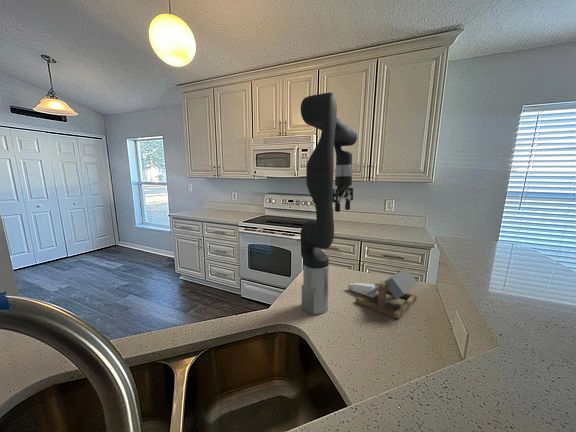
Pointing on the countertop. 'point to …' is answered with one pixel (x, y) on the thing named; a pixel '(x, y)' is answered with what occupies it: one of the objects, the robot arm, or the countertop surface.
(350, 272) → the countertop surface
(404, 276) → the trapdoor
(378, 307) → the wooden frame stand
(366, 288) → the pepper shaker
